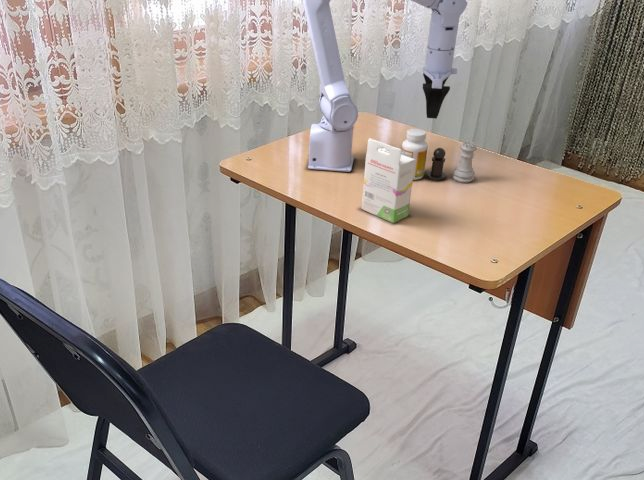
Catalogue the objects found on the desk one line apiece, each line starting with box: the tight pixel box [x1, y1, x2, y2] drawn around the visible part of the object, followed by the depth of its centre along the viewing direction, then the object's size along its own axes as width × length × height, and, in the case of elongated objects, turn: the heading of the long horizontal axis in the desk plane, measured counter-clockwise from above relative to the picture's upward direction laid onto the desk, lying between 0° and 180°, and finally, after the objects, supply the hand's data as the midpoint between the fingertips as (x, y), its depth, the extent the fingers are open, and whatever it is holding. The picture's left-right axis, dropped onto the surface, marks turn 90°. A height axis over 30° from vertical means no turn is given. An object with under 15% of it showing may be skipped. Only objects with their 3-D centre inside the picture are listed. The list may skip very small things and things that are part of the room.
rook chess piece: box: [452, 140, 477, 184], centre depth 155 cm, size 4×4×8 cm
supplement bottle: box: [401, 128, 429, 181], centre depth 156 cm, size 5×5×10 cm
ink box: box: [361, 137, 415, 224], centre depth 141 cm, size 9×5×15 cm, turn 42°
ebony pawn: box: [426, 147, 446, 182], centre depth 157 cm, size 4×4×7 cm
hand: (431, 111), depth 161 cm, fingers open, 7 cm apart
